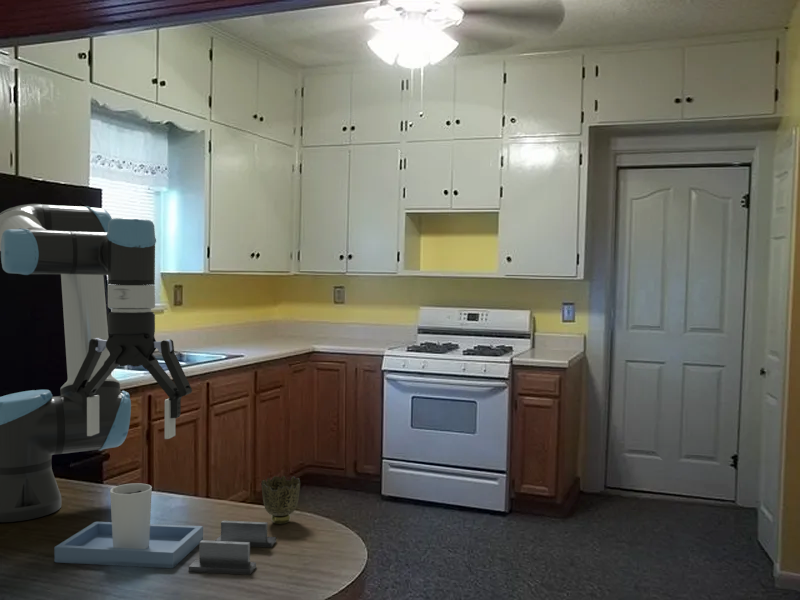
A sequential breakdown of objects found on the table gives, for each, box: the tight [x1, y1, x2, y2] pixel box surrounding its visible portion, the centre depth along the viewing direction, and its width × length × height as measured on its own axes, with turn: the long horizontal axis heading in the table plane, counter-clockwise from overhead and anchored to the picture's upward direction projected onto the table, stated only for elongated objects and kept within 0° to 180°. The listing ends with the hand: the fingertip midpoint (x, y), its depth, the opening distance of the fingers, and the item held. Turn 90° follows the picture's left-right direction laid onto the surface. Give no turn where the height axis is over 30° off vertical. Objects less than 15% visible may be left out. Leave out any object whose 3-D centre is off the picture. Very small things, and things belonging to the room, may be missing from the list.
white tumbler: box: [109, 482, 153, 549], centre depth 127 cm, size 7×7×10 cm
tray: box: [54, 521, 204, 569], centre depth 127 cm, size 13×20×2 cm, turn 84°
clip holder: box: [188, 520, 277, 576], centre depth 125 cm, size 15×10×4 cm, turn 174°
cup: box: [260, 475, 301, 525], centre depth 142 cm, size 8×7×8 cm
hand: (131, 436), depth 127 cm, fingers open, 13 cm apart
